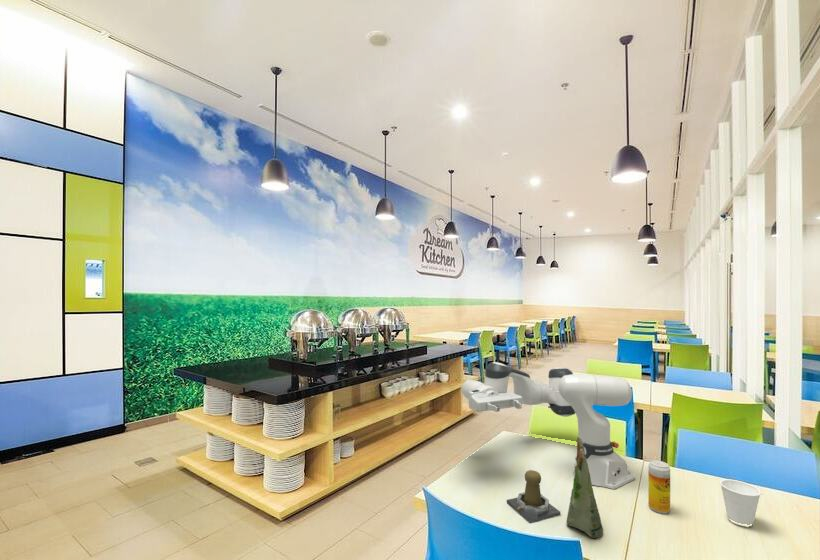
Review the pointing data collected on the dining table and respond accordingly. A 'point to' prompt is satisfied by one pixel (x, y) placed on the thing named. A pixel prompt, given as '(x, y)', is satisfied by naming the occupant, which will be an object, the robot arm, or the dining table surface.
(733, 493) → the cup
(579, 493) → the pouch
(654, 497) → the pill bottle
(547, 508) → the hub socket
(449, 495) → the dining table surface
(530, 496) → the cork
